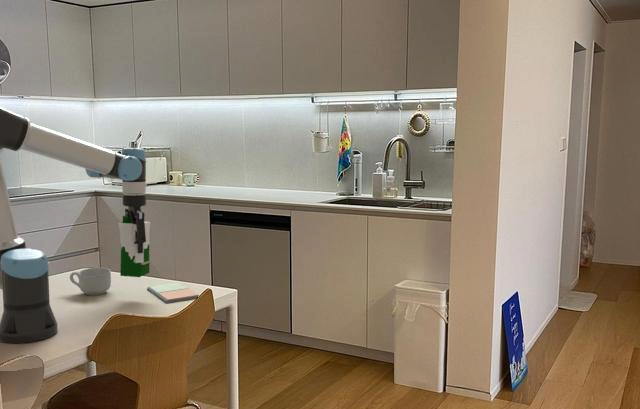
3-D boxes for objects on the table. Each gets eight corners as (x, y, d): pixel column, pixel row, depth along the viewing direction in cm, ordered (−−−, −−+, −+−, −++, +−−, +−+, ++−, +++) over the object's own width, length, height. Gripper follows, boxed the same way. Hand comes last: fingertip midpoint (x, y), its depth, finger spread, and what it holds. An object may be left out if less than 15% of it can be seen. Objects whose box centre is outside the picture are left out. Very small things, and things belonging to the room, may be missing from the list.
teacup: (117, 290, 216) (116, 268, 215) (101, 298, 206) (100, 275, 205) (81, 288, 219) (80, 266, 218) (64, 296, 208) (63, 273, 207)
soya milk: (129, 270, 211) (129, 214, 209) (153, 272, 209) (153, 215, 207) (116, 276, 202) (115, 217, 200) (141, 278, 201) (140, 218, 198)
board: (166, 303, 201) (166, 299, 200) (147, 289, 217) (147, 286, 217) (200, 297, 207) (200, 294, 207) (179, 285, 224) (179, 282, 224)
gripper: (155, 196, 196) (156, 264, 198) (135, 190, 214) (136, 253, 216) (132, 197, 192) (133, 267, 194) (114, 191, 210) (115, 255, 212)
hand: (135, 259), depth 205 cm, fingers closed on soya milk, 9 cm apart
